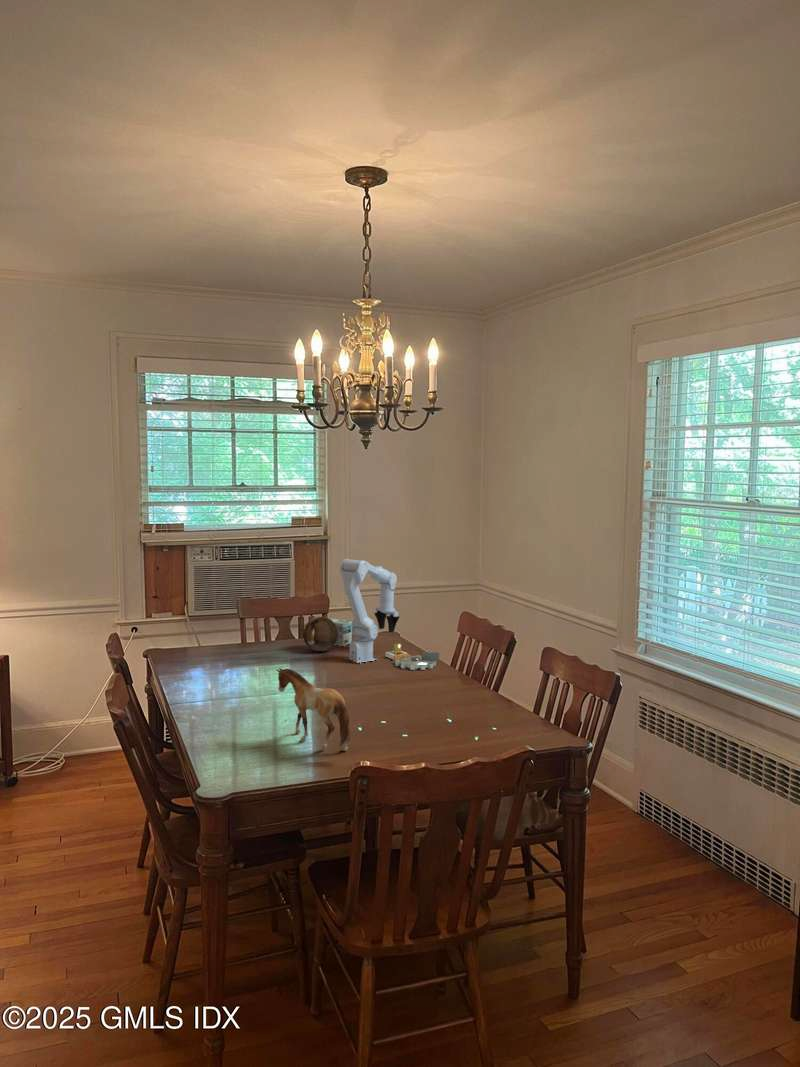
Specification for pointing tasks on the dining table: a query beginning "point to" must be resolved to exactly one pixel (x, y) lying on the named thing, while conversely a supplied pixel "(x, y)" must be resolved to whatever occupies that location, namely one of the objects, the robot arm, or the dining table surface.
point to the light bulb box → (343, 631)
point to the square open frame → (392, 656)
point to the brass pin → (397, 648)
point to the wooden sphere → (320, 634)
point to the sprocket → (418, 661)
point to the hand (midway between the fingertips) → (386, 630)
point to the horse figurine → (316, 705)
